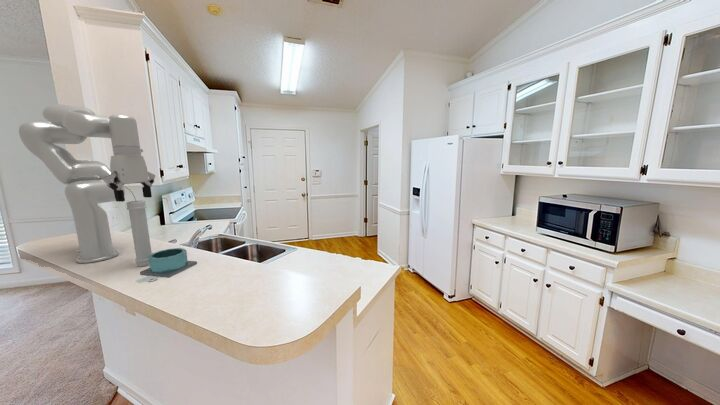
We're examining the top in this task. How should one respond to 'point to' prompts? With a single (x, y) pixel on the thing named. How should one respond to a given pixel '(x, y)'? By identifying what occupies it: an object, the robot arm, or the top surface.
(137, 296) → the top surface
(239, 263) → the top surface
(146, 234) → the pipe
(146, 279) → the mounting bracket
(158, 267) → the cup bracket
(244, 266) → the top surface
